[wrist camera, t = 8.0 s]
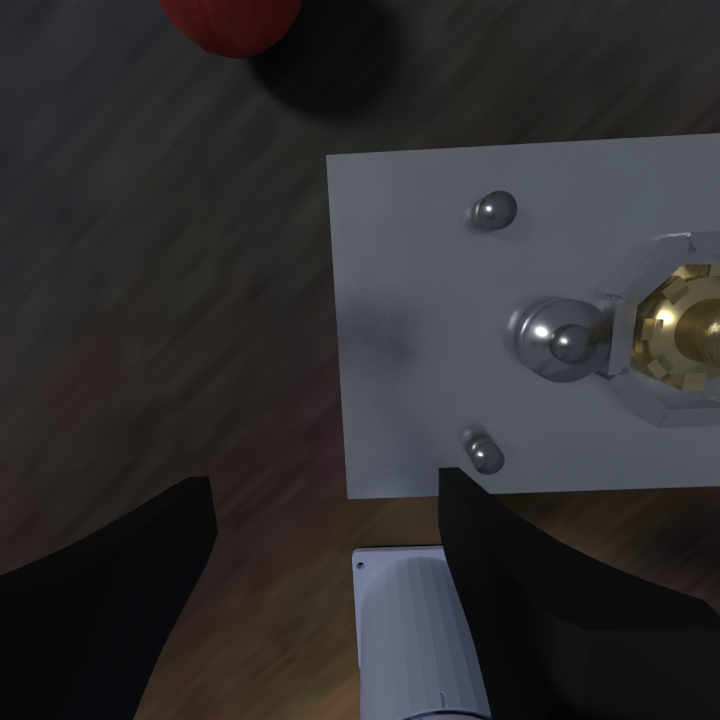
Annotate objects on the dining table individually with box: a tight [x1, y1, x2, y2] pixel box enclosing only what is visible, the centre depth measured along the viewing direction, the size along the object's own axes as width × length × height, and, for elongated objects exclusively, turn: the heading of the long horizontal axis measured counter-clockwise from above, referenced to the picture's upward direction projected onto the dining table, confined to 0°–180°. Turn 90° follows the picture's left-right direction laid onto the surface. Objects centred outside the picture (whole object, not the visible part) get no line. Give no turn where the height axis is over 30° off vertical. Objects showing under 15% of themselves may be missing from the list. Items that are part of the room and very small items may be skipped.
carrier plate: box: [326, 133, 720, 499], centre depth 19 cm, size 18×23×3 cm
